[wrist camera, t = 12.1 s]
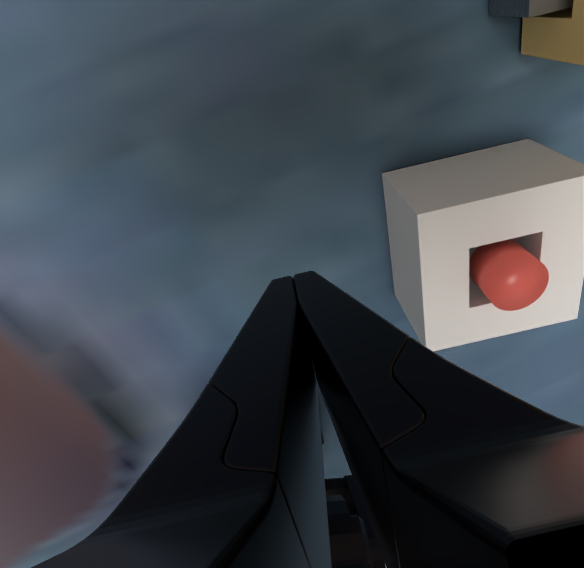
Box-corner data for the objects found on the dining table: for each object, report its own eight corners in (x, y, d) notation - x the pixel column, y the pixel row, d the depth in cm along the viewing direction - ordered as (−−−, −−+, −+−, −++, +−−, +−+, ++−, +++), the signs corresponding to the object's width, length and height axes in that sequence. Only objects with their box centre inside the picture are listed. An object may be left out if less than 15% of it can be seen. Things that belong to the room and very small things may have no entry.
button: (520, 278, 21) (546, 303, 19) (467, 290, 21) (488, 316, 19) (524, 230, 19) (551, 253, 18) (467, 243, 19) (489, 267, 18)
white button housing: (527, 263, 25) (585, 316, 21) (394, 294, 25) (426, 352, 21) (536, 136, 22) (610, 169, 17) (381, 173, 22) (417, 214, 18)
